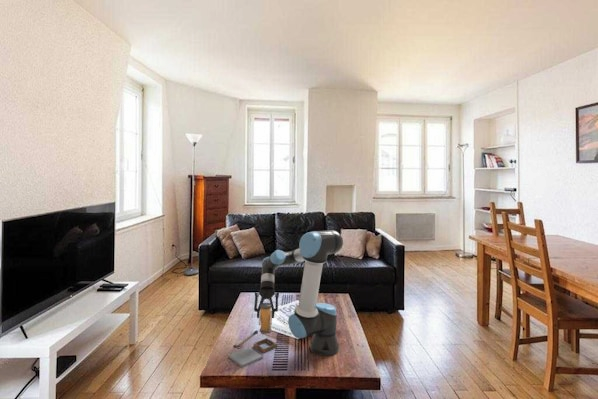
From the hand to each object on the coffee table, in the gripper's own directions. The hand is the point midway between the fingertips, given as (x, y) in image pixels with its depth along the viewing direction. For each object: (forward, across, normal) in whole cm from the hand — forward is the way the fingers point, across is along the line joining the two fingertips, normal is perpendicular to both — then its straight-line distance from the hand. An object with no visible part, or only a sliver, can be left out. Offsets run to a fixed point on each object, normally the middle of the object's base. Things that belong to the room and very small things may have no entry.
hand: (265, 324), depth 167 cm
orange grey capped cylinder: (+1, 0, -6) cm, 7 cm away
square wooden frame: (+7, 0, -12) cm, 14 cm away
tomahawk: (+2, +10, -18) cm, 20 cm away
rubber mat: (+15, +9, -5) cm, 18 cm away
